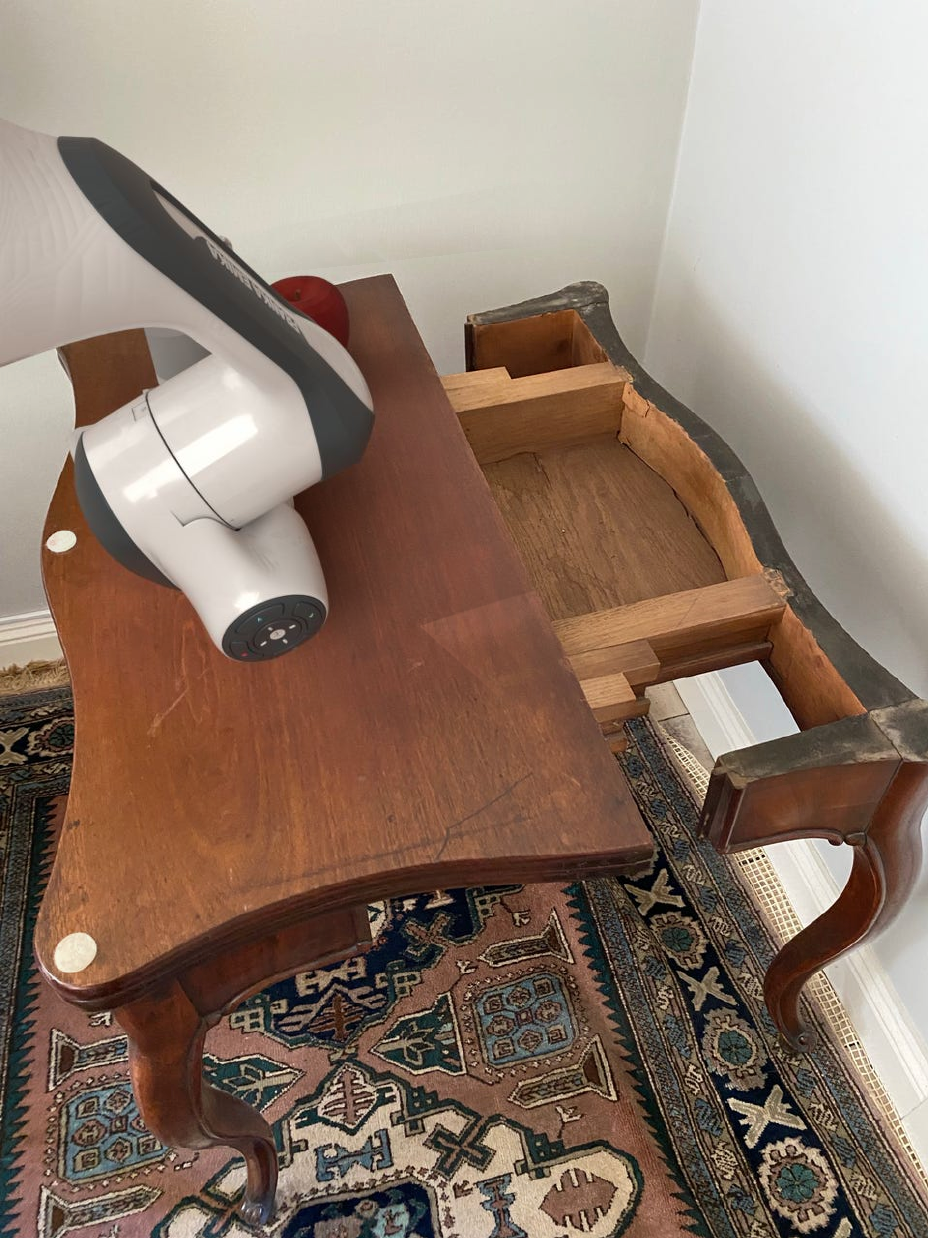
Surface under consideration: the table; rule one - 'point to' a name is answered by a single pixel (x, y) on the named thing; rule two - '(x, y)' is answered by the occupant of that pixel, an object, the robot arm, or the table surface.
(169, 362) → the container
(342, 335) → the apple
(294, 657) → the table surface
